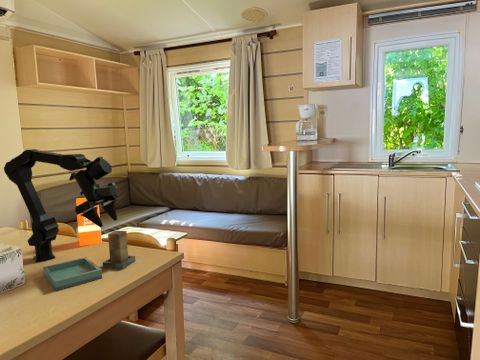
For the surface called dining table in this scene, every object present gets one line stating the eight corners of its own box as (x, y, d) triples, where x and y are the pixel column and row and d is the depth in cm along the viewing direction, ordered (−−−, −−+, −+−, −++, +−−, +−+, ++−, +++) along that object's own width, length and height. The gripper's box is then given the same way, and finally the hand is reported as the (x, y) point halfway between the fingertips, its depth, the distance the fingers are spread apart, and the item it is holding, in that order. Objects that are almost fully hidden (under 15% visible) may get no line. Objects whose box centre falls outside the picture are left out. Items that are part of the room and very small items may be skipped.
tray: (43, 275, 119) (43, 267, 119) (86, 264, 128) (86, 256, 127) (55, 291, 107) (54, 281, 106) (102, 278, 116) (101, 269, 115)
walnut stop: (110, 266, 126) (108, 233, 124) (117, 261, 130) (115, 230, 129) (121, 267, 125) (119, 234, 123) (128, 262, 129) (126, 231, 128)
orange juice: (80, 241, 157) (76, 197, 154) (101, 238, 160) (98, 195, 157) (79, 246, 149) (75, 200, 147) (101, 243, 153) (98, 198, 150)
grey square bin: (103, 267, 125) (102, 262, 124) (116, 259, 132) (116, 254, 132) (123, 269, 123) (122, 264, 122) (135, 261, 130) (135, 255, 130)
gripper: (89, 179, 116) (111, 220, 117) (119, 172, 134) (138, 208, 135) (64, 194, 119) (86, 234, 120) (97, 185, 137) (116, 220, 138)
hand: (109, 223), depth 128 cm, fingers open, 9 cm apart
